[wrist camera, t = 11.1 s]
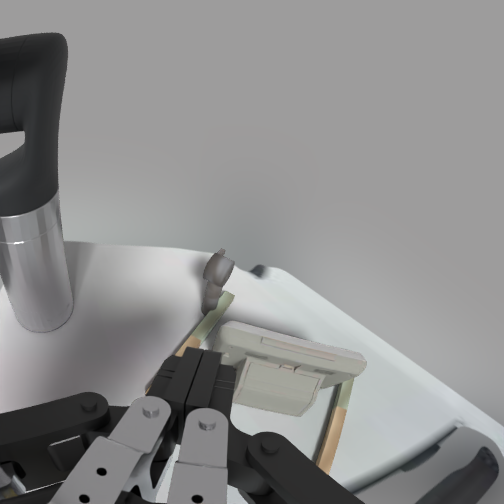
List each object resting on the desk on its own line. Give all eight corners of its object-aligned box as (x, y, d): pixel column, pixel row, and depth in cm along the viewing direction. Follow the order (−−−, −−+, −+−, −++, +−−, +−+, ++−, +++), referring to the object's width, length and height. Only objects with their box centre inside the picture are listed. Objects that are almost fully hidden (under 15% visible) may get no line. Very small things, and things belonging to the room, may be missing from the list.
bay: (130, 385, 30) (124, 338, 24) (211, 289, 46) (224, 238, 40) (322, 480, 26) (370, 458, 20) (354, 359, 42) (389, 318, 36)
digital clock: (331, 380, 38) (372, 333, 32) (318, 436, 30) (366, 399, 24) (222, 334, 40) (241, 277, 34) (192, 384, 33) (206, 332, 26)
